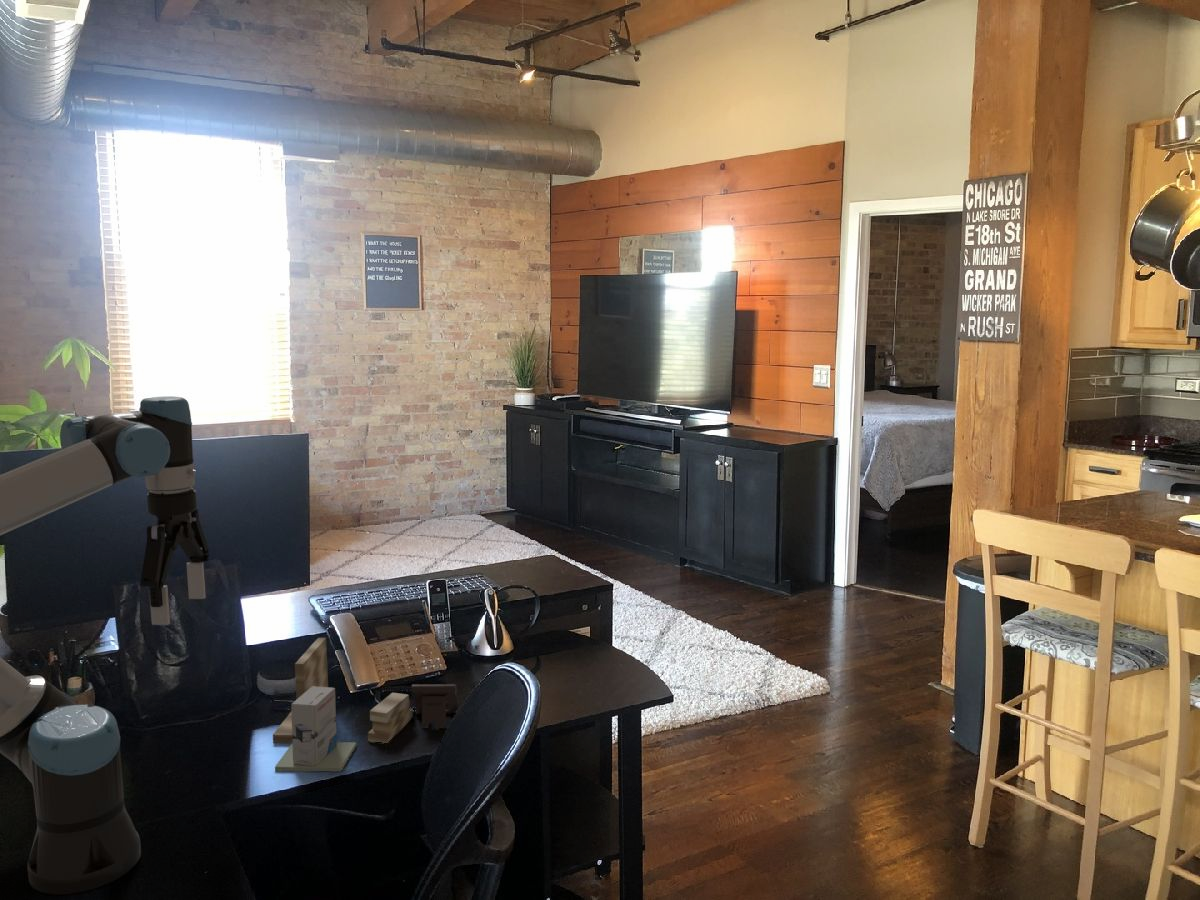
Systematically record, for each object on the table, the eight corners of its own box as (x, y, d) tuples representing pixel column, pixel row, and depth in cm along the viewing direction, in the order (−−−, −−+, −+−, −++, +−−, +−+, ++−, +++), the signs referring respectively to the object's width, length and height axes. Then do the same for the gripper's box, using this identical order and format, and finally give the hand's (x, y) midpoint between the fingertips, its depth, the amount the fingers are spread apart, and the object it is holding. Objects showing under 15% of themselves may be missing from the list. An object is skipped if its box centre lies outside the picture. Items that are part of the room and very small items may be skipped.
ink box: (314, 743, 186) (311, 684, 184) (339, 745, 185) (336, 686, 183) (292, 764, 178) (288, 703, 176) (317, 767, 177) (314, 705, 175)
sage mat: (340, 772, 177) (340, 767, 177) (275, 770, 177) (274, 766, 177) (356, 746, 187) (356, 742, 186) (293, 745, 187) (293, 741, 187)
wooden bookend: (307, 743, 188) (303, 663, 185) (273, 742, 188) (268, 663, 186) (329, 711, 202) (325, 637, 199) (297, 711, 202) (293, 637, 199)
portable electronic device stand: (460, 711, 202) (459, 673, 201) (456, 728, 194) (455, 688, 193) (417, 712, 202) (416, 673, 201) (411, 729, 194) (410, 689, 193)
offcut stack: (388, 744, 188) (387, 715, 187) (367, 742, 189) (366, 713, 188) (413, 718, 199) (412, 690, 198) (393, 716, 200) (392, 688, 199)
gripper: (157, 505, 152) (167, 636, 155) (224, 475, 176) (231, 588, 180) (110, 505, 152) (120, 636, 155) (182, 474, 176) (190, 588, 180)
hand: (179, 610), depth 167 cm, fingers open, 13 cm apart
